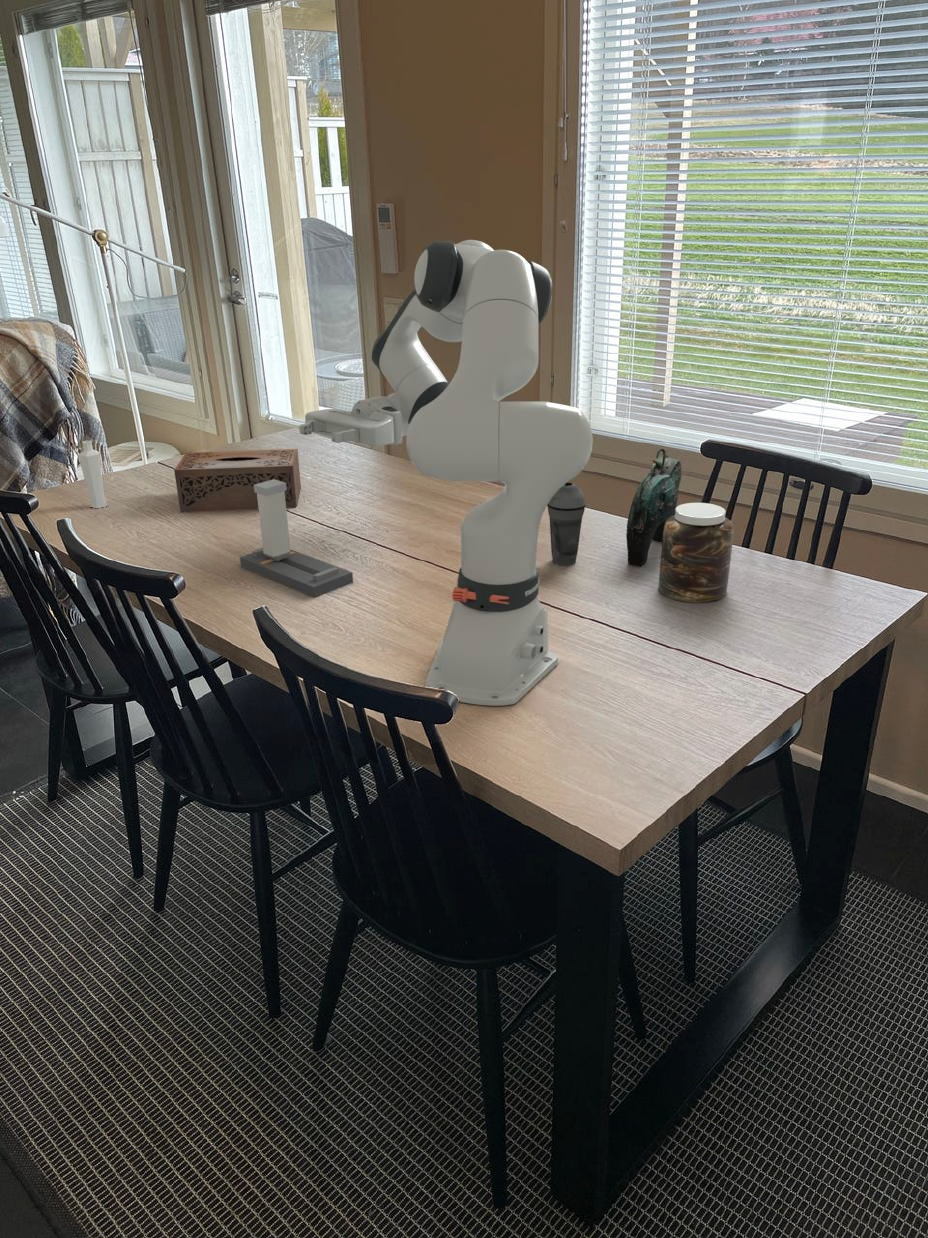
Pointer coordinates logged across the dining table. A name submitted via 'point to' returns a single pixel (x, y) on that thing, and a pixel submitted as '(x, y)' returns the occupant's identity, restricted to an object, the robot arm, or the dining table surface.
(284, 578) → the fader console
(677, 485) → the dark green arched sculpture
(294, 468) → the tissue box cover
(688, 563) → the jar
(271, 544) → the fader tab
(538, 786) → the dining table surface
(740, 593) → the dining table surface
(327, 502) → the dining table surface
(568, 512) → the beverage cup
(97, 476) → the perfume bottle
